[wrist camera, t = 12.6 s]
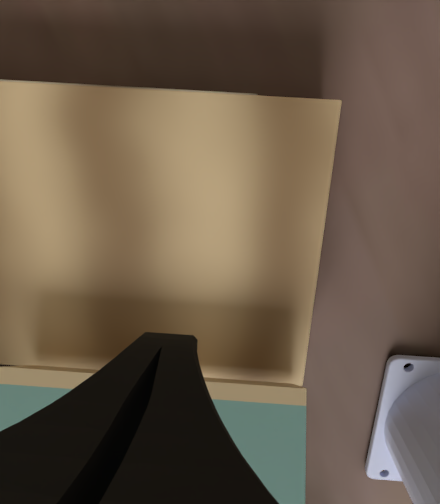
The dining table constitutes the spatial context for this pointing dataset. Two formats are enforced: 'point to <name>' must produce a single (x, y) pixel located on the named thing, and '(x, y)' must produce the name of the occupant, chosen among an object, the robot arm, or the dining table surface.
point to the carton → (161, 224)
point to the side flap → (226, 403)
